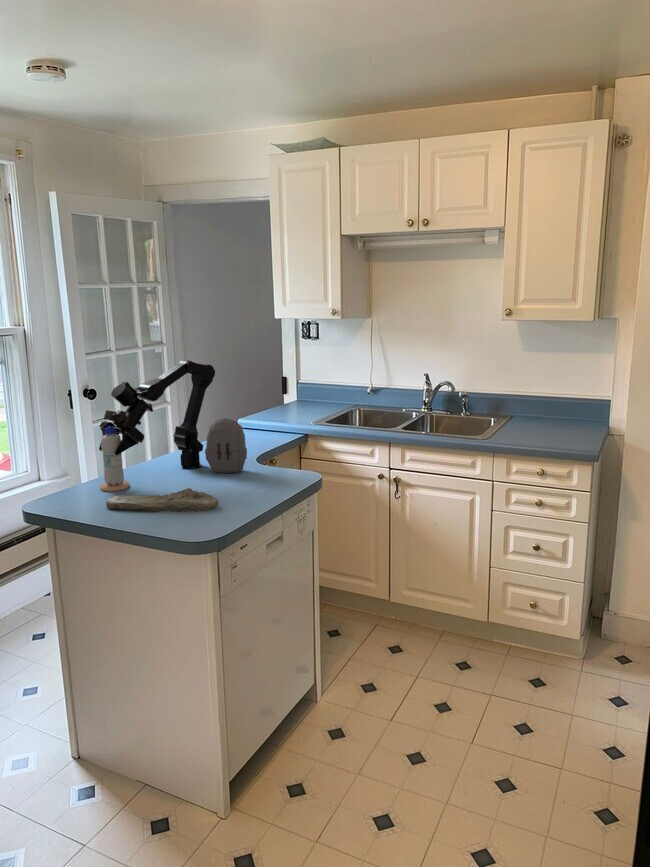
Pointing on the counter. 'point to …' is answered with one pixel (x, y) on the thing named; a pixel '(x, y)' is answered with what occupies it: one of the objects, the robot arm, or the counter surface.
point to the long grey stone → (165, 502)
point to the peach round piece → (114, 488)
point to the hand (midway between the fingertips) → (107, 452)
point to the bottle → (112, 458)
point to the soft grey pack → (226, 446)
